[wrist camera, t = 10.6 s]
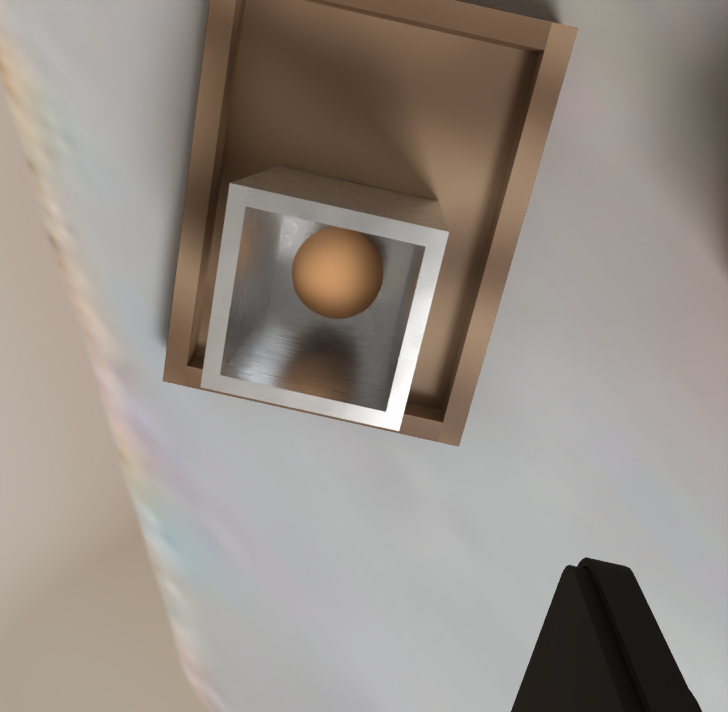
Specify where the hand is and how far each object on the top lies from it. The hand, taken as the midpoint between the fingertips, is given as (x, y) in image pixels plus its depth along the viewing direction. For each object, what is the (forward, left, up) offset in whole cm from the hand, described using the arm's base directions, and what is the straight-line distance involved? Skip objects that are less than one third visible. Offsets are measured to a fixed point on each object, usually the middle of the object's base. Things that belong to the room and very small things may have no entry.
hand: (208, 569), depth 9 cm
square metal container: (0, 0, -23) cm, 23 cm away
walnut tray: (-2, 0, -24) cm, 24 cm away
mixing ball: (0, 0, -23) cm, 23 cm away
